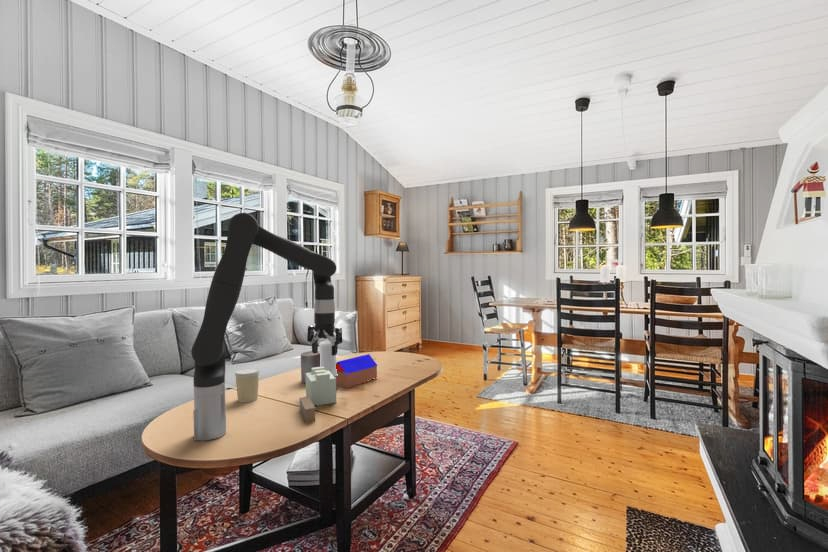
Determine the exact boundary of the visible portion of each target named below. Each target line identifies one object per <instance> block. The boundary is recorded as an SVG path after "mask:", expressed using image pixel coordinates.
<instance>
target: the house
mask: <svg viewBox="0 0 828 552" xmlns="http://www.w3.org/2000/svg"><path fill="white" fill-rule="evenodd" d="M335 364H336V369H337V374H338V376H337V377H335V378H336V386H339V387H341V386H342V388H345V387H348V388H351V387H350V386H352V385H355V384H358V383H361V384H363V383H362V382H364V381H367V380H370V379H373V378H376V377H377V378H378V371H377V370H378V368H377V367H378V364H377V363H376V362H375V360H374V358H373V357H372V356H371V355H370V353H367V354H363V355H360V356H356V357H352V358H347V359H344V360H339V361H337V362H336V363H335ZM364 383H365V382H364ZM358 385H359V384H358ZM355 386H356V385H355ZM352 387H353V386H352Z"/></svg>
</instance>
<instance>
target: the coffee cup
mask: <svg viewBox="0 0 828 552" xmlns="http://www.w3.org/2000/svg"><path fill="white" fill-rule="evenodd" d="M234 375H235V376H234V377H235V384H236V385H235V386H236V393H237V402H239V403H250V402H254V401H257V399H259V398H258V397H259V380H260V379H259V375H260V371H259V369H258V368H244V369H240V370H237V371H236V372H235V374H234Z"/></svg>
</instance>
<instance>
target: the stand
mask: <svg viewBox="0 0 828 552" xmlns="http://www.w3.org/2000/svg"><path fill="white" fill-rule="evenodd" d="M305 397H310V399H311V401H312V403H313V405H314V407H315V405H317V406H323V404H324V405H331V404H336V403H337V385H336V378H335V377H334V376H333V374H332V373H331V370H326V369H325V366H321V367H314V368H311V373H306V383H305Z"/></svg>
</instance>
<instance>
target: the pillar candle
mask: <svg viewBox="0 0 828 552" xmlns="http://www.w3.org/2000/svg"><path fill="white" fill-rule="evenodd" d="M319 352H320V351H319V350H318V353H315V354H314V353H313V352H312V350H310V351H304V352H301V353H299V354H300V375H301V379H300V380H301V383H302V384H306V373H311V368H314V367H320V353H319Z"/></svg>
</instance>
